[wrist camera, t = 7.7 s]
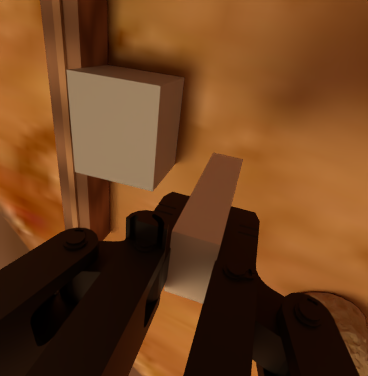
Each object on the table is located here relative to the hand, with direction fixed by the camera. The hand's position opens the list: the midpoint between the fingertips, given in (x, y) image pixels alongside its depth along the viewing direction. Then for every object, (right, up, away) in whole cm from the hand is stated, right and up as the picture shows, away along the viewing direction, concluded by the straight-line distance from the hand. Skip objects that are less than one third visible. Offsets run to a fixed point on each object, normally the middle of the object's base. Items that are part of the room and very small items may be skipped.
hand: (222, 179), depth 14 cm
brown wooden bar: (-11, +7, +12) cm, 18 cm away
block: (-6, +6, +12) cm, 14 cm away
